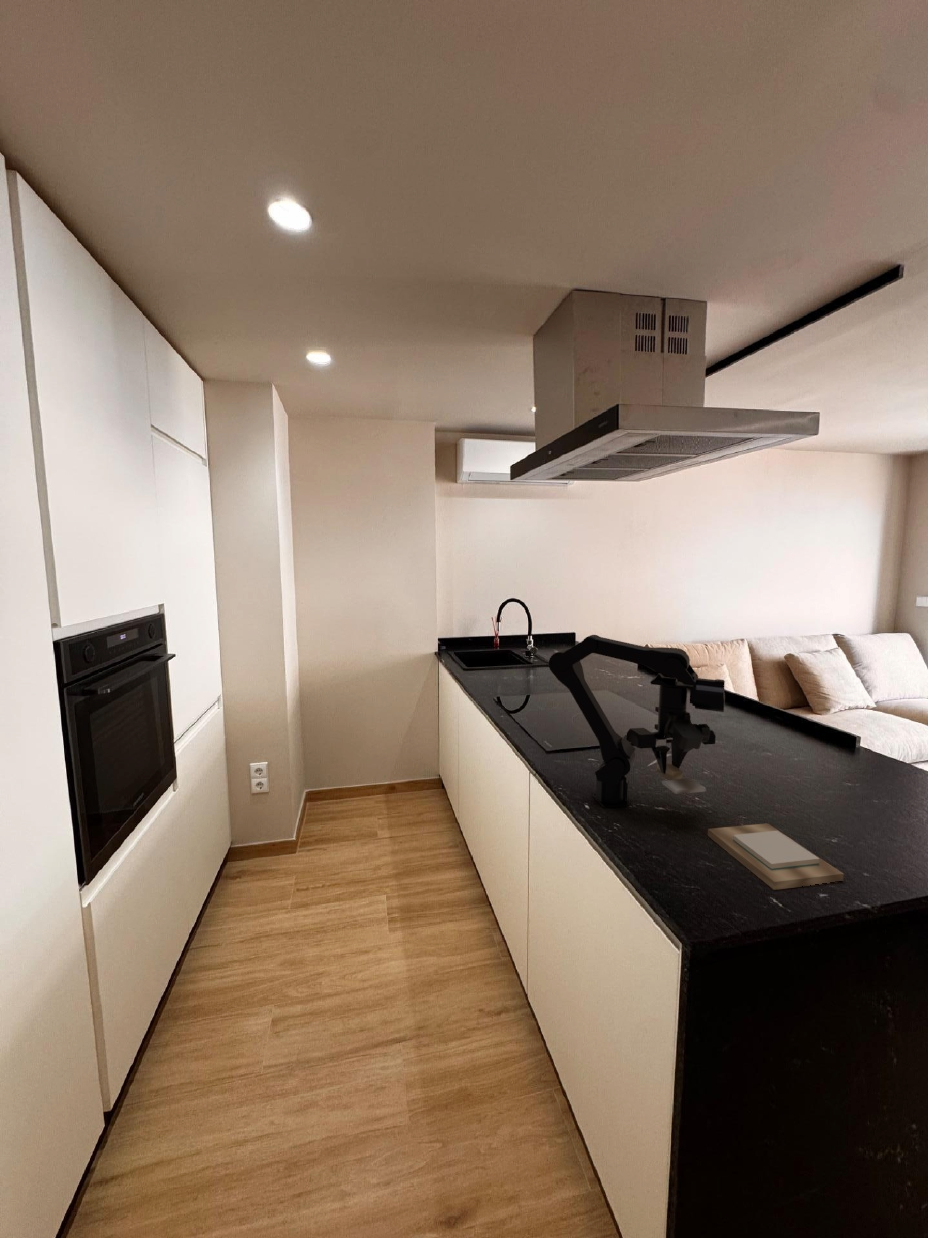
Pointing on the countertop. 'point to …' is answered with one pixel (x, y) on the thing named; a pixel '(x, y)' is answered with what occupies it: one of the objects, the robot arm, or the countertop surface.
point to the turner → (679, 781)
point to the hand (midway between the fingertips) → (669, 772)
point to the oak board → (770, 877)
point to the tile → (775, 850)
